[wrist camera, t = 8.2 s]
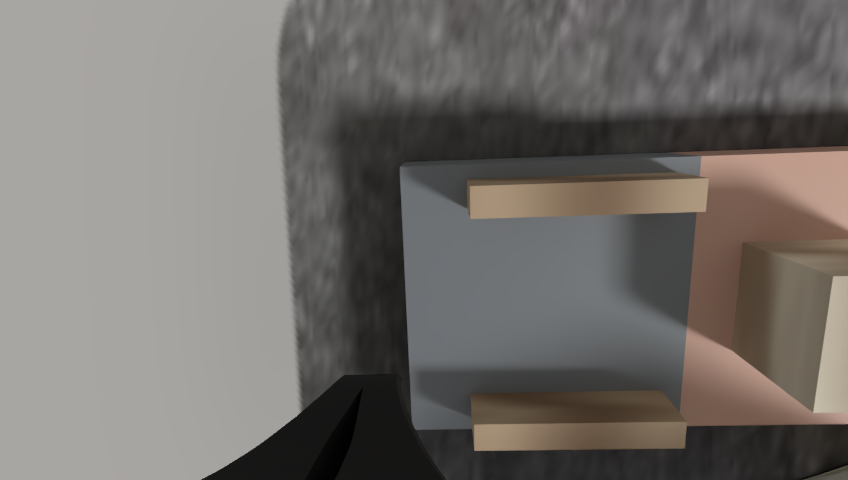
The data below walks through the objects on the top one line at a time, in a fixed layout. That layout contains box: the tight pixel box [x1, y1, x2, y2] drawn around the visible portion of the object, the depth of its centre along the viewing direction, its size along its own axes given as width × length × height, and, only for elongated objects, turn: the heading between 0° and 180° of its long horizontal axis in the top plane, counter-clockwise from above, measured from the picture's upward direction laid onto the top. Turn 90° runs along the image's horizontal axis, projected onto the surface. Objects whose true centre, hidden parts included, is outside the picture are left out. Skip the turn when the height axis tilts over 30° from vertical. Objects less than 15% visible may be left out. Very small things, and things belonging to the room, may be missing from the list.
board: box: [400, 146, 848, 430], centre depth 19 cm, size 22×10×2 cm, turn 92°
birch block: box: [732, 239, 848, 413], centre depth 15 cm, size 4×4×4 cm
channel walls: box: [466, 172, 709, 451], centre depth 17 cm, size 7×9×2 cm
